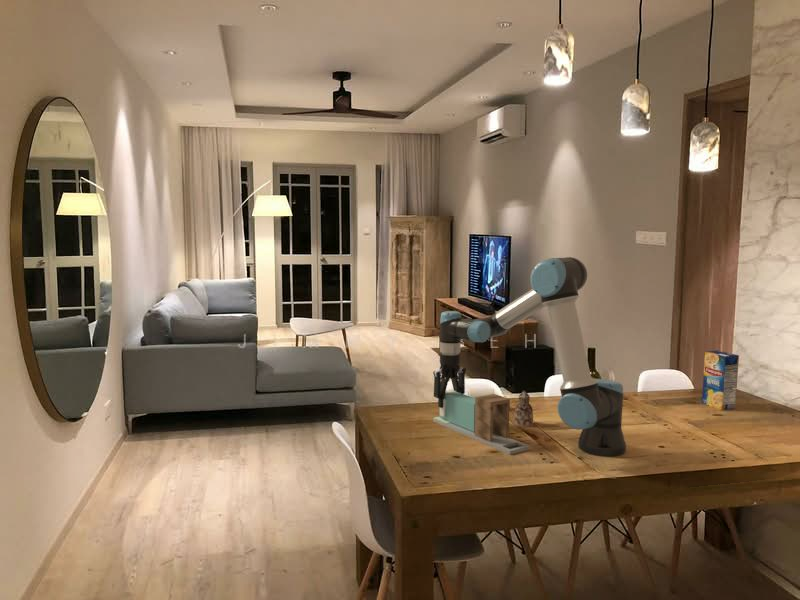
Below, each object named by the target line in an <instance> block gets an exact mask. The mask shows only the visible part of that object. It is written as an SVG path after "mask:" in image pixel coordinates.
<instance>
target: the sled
mask: <svg viewBox="0 0 800 600" xmlns="http://www.w3.org/2000/svg"><path fill="white" fill-rule="evenodd" d="M444 399H446V416H445V417H443V416H441V415H440V414H439V416H440V418H442V419H444V420H446V421H449V422H451V423H454V424H456V425H458V426H461V427H463V428H466V429H468V430H470V431H473V432H475V398H473V397H470V396H468V394H465V393H464V394H461V393H458V392H456V391H454V389H446V392H445V396H444Z"/></svg>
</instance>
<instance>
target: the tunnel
mask: <svg viewBox="0 0 800 600" xmlns="http://www.w3.org/2000/svg"><path fill="white" fill-rule="evenodd" d="M510 401H511V399H510V398H508V397H506V396H502V395H499V394H496V393H494V394H490V395H484V396H479V397H475V436H477V437H479V438H481V439H484V440H486V441H488V442H493V433H494V434H496V435H499V436H501V437H504V438H510V436H509V435H510V433H509V432H510Z"/></svg>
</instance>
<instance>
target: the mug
mask: <svg viewBox="0 0 800 600" xmlns="http://www.w3.org/2000/svg"><path fill="white" fill-rule="evenodd" d="M490 394H495V391H494V388H468V389H467V396H470V397H473V398H475V397H479V396H484V395H490Z"/></svg>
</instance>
